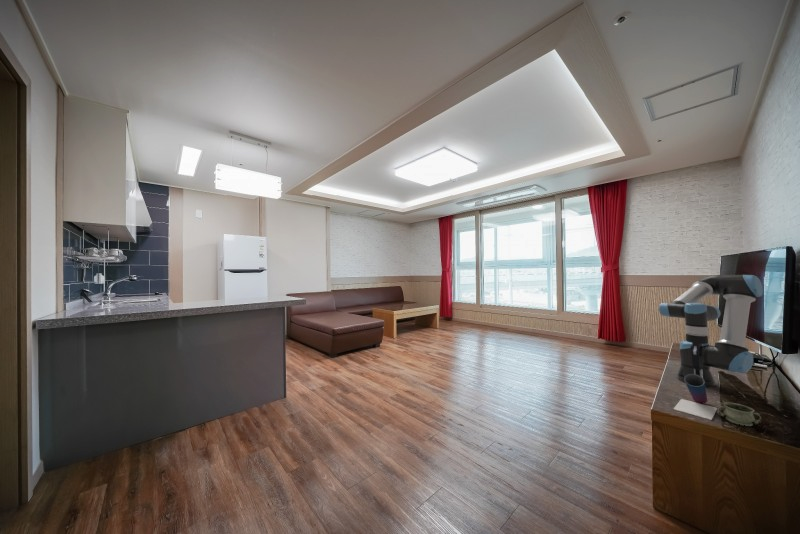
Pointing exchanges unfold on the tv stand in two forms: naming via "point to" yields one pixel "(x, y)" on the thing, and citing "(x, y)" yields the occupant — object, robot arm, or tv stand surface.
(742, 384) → the tv stand surface
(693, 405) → the mat
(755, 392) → the tv stand surface
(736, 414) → the vessel
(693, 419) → the tv stand surface
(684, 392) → the tv stand surface
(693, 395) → the cup
